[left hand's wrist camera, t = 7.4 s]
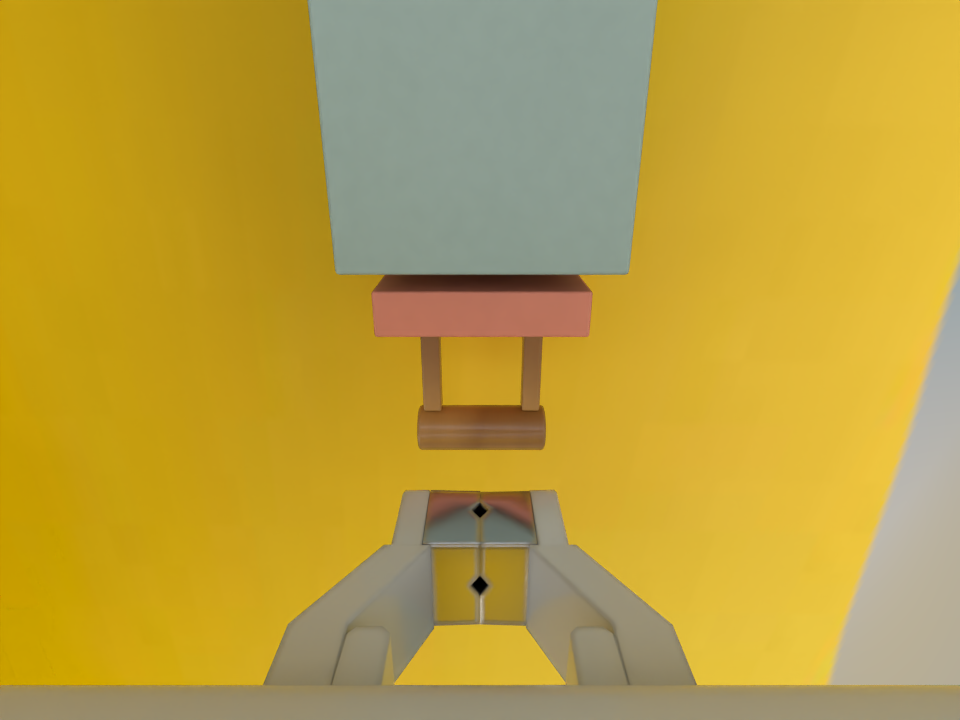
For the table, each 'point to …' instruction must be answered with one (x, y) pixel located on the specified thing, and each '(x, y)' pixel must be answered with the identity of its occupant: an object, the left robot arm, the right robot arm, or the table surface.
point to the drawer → (481, 313)
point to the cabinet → (482, 133)
